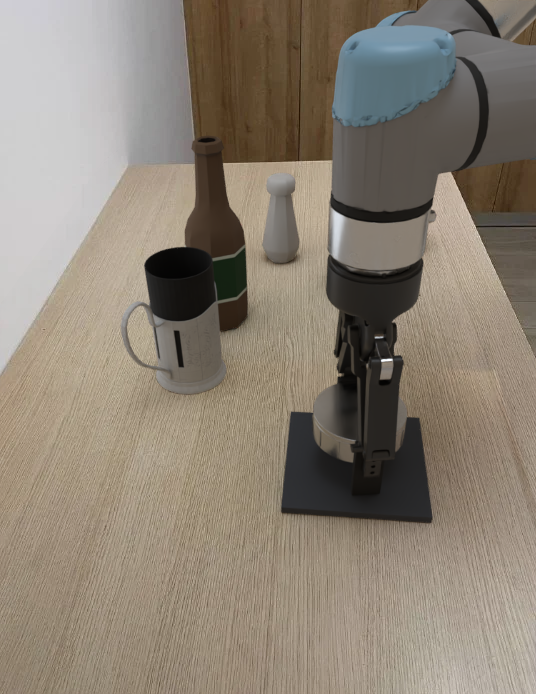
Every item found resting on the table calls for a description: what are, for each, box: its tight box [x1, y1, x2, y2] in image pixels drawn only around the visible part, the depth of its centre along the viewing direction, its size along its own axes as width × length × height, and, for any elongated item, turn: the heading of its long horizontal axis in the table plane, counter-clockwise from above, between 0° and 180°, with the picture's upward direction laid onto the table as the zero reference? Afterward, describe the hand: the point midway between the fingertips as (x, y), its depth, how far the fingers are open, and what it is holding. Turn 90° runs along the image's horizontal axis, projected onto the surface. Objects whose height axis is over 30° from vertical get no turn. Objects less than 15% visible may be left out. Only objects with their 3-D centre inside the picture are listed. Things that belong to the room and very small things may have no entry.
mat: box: [280, 411, 433, 524], centre depth 65 cm, size 14×14×1 cm
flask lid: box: [312, 381, 408, 463], centre depth 62 cm, size 9×9×3 cm
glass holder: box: [120, 246, 228, 395], centre depth 73 cm, size 9×14×15 cm, turn 146°
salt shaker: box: [261, 172, 300, 264], centre depth 97 cm, size 6×6×13 cm
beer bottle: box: [184, 135, 249, 332], centre depth 81 cm, size 8×8×24 cm
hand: (355, 456), depth 65 cm, fingers closed on flask lid, 9 cm apart
